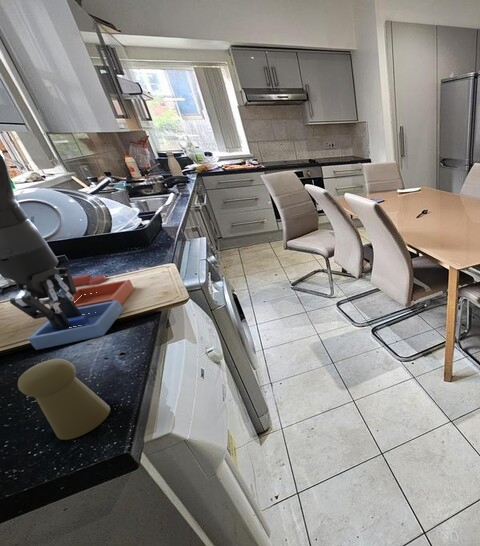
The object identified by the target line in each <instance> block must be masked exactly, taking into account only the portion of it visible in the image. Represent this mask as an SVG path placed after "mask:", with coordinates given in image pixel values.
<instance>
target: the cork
mask: <svg viewBox="0 0 480 546" xmlns="http://www.w3.org/2000/svg"><path fill="white" fill-rule="evenodd" d="M76 375H77V371H76V366H75V365H74V364H73V363H72V362H71V361H69V360H67V359H65V358H53V359H48V360H45V361H42V362H39V363H37V364H35V365H33V366H31V367H29V368H28V369H27V370H25V371H24V372H23V373H22V374H21V375H20V376H19V377H18V381H17V387H18V391H20V392H21V393H22V394H24V395H25V396H27V397H29V398H35V400H36V402H37V404H38V405H39V407H40V409H41V411H42V412H43V414H44V416H45V418H46V420H47V422H48V424H49V425H50V427H51V429H52V430H53V433H54V435H55V436H56V437H57V438H58V439H59V440H62V441H63V440H64V441H68V440H72V439H76V438H79V437H81V436H83V435H85V434H87V433H90V432H91V431H93V430H94V429H96V428H97V427H98V426H100V425H101V424H102V423H103V422H104V421H105V420H106V419H107V418H108V416H109V415H110V412H111V406H110V405H109V404H107V403H106V402H105V401H104V400H103V399H102V398H101V397H100V396H98V395H97V394H96V393H95V392H94V391H93V390H91V389H90V387H88V386H87V385H86V384H84V383H83V382H82V381H81V380H80V379H79V378H78V377H77V376H76Z"/></svg>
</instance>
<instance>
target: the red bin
mask: <svg viewBox="0 0 480 546" xmlns="http://www.w3.org/2000/svg"><path fill="white" fill-rule="evenodd" d="M134 289H135V287H134V285H133V284H132V281H131V280H130V279H125V280H119V281H114V282H113V281H112V282H108V283H107V282H106V283H102V284H101V283H100V284H95V285H90V286H83V287H79V288H76V291H77V293H76V294H73V297H74V300H73V302H74V301H76V300H77V299H78V298H79V297H80V296H81V295H82V296H81V297H80V298H79V299H78V300H77V301H76V302H75V303H74V304H75V305H76V306H77V308H79V307H84V306H90V305H95V304H100V303H106V302H111V301H116V300H118V301H119V303H120V305H121V306H122V305H123V303H124V302H125V301H126V300H127V298H128V297H129V296H130V295H131V293H132V292H133V291H134ZM96 292H97V293H96ZM90 293H92V294H90ZM84 294H86V295H84ZM59 309H60V308H59ZM60 311H61V309H60Z"/></svg>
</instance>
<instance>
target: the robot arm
mask: <svg viewBox="0 0 480 546" xmlns="http://www.w3.org/2000/svg"><path fill="white" fill-rule="evenodd" d="M13 189H14V188H13V185H12V182H11V178H10V174H9V170H8V165H7V162H6V159H5V156H4V155H3V153H2V151H1V150H0V276H1V277H2V278H3V279H7V280H11V281H14V283H15V285H16V289H17V291H18V292H19V293H18V294H17V296H16V297H11V298H10V299H9V303H10V304H11V305H12V306H14V307H15V308H17V309H18V310H20V311H21V312H23V313H24V314H26V315H27V316H29V317H31V318H32V319H33V320H37V319H38V320H39V319H41V318H46V319H47V321H48V320H49V322H50V323H51V324H52V325H53V327H54V328H55V329H56V330H63V329H68V328H69V327H70V326H71V324H70V322H69V321H68V318H74V317H79V316H81V313H80V311H79V309H78V308H77V306H76V305H75V304H74V302H73V300H74V297H73V294H76V293H77V291H76V289H77V288H76V286H75V285H74V282H73V279H72V277H73V276H72V273H71V270H70V268H69V267H68V266H64V267H58V268H57V266H58V265H59V260H58V258H57V256H56V255H55V253H54V251H53V250H52V249H51V247H50V246H49V244H48V242H47V241H46V240H45V238H44V237H43V235H42V233H41V232H40V230H39V229H38V228H37V226H36V225H35V224H34V223H33V222H32V221H31V220H30V219H29V217H28V215H27V214H26V212H25V210H24V209H23V207H22V206H21V205H20V203H19V201H18V200H17V199H16V197H15V194H14V193H15V192H14V190H13ZM65 284H67V285H68V287H67V286H66V285H65ZM46 305H49V307H50V308H49V307H48V306H46ZM59 308H60V309H61V312H60V309H59ZM63 313H64V314H63ZM65 316H66V317H65Z"/></svg>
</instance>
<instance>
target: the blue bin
mask: <svg viewBox="0 0 480 546" xmlns="http://www.w3.org/2000/svg"><path fill="white" fill-rule="evenodd" d="M78 309H79V311H80V313H81V316H84V315H82V314H85V316H86V317H87V319H90V318H92V317H95V316H101V317H100V318H99V319H98V320H97V321H96V322H95V324H92V325H87V326H82V327H77V328H72V329H67V330H62V331H57V332H55V330H54V329H53V328H52V326H51V323H50V322H49V320H48V319H47V321H46V322H44V324H42V326H40V327H39V328H38V329H37V330H36V331H34V333H33V334H32V335H31V336H30V337H28V338H27V341H28V342H29V343H30V344H31V346H32V348H34V349H35V351H38V350H43V349H46V348H52V347H57V346H61V345H66V344H70V343H75V342H79V341H80V342H81V341H85V340H90V339H94V338H99V337H104V336H105V334H107V332H108V330H109V329H110V328H111V327H112V325H113V324H114V323H115V321H116V320H118V318H119V316H120V315H121V314H122V312H123V311H124V308H123V306H122V304H121V305H120V303H119V301H118V300H116V301H111V302H106V303H100V304H95V305H90V306H84V307H79V308H78ZM118 309H119V310H118ZM60 312H61V311H60ZM95 312H96V313H95ZM88 313H90V314H88ZM63 314H64V313H63ZM65 317H66V316H65Z"/></svg>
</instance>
